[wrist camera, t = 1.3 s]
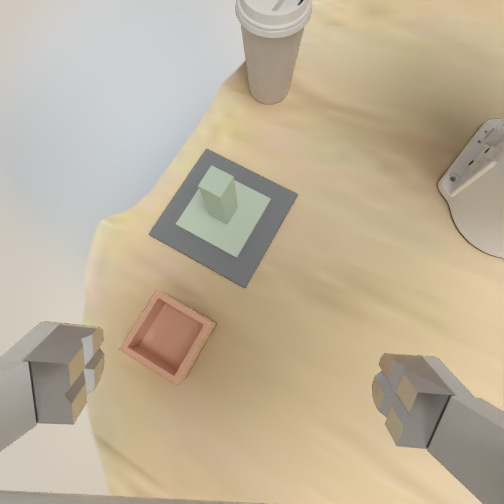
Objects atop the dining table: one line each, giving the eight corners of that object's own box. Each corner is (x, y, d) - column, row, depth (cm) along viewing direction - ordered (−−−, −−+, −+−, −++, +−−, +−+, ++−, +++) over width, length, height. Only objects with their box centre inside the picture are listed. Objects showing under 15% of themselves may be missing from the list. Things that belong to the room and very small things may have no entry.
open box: (167, 294, 42) (156, 290, 38) (216, 323, 41) (212, 322, 36) (133, 347, 40) (119, 349, 36) (184, 379, 39) (176, 385, 35)
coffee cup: (262, 122, 49) (266, 34, 34) (229, 83, 51) (218, -17, 36) (309, 93, 50) (331, -4, 36) (274, 55, 52) (282, -51, 38)
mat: (206, 150, 48) (206, 148, 47) (297, 195, 45) (297, 194, 45) (149, 234, 44) (148, 234, 44) (245, 288, 42) (244, 287, 42)
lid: (212, 172, 46) (201, 129, 36) (270, 201, 45) (274, 165, 35) (177, 226, 44) (155, 196, 34) (236, 259, 43) (231, 237, 33)
